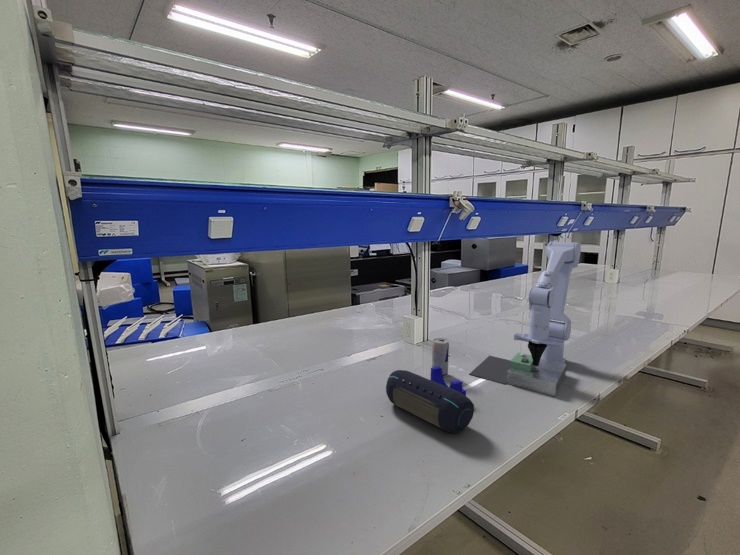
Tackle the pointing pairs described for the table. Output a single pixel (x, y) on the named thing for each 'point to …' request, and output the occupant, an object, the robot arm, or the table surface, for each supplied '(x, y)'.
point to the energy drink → (440, 355)
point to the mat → (493, 369)
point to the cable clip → (438, 378)
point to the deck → (539, 377)
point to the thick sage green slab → (522, 362)
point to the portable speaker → (430, 400)
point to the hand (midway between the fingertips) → (536, 364)
